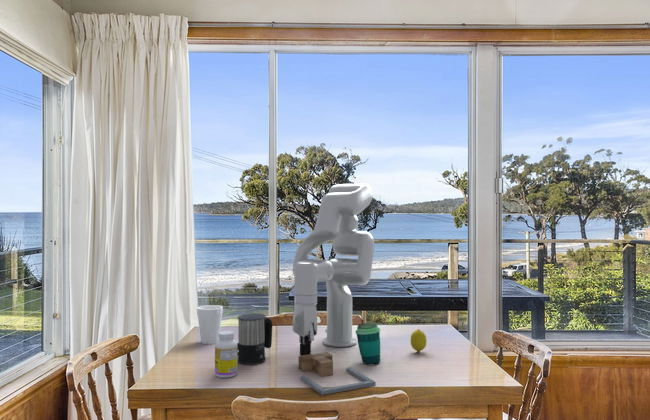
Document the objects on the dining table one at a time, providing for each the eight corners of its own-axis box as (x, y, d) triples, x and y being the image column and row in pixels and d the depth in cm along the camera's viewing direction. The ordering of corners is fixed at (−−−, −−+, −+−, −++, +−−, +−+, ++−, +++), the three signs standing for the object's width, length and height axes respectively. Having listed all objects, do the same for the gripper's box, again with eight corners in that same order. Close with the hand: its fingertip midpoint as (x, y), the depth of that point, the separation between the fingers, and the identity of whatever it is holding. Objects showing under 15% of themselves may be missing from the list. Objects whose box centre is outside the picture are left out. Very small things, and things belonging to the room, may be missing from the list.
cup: (373, 367, 158) (373, 329, 158) (350, 363, 162) (351, 326, 162) (384, 361, 165) (384, 324, 165) (362, 357, 169) (362, 321, 169)
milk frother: (258, 366, 159) (258, 319, 159) (214, 361, 164) (214, 316, 164) (275, 354, 173) (275, 311, 173) (234, 350, 177) (234, 308, 177)
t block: (298, 368, 157) (298, 356, 157) (326, 364, 161) (326, 352, 161) (312, 377, 148) (312, 364, 148) (341, 373, 152) (341, 359, 153)
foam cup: (224, 343, 186) (224, 308, 186) (198, 346, 182) (198, 310, 182) (220, 337, 195) (220, 304, 195) (196, 339, 191) (196, 305, 191)
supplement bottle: (216, 371, 154) (216, 329, 154) (238, 371, 154) (238, 329, 154) (213, 379, 147) (213, 335, 147) (236, 378, 147) (236, 334, 148)
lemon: (426, 354, 172) (426, 331, 172) (410, 353, 173) (410, 330, 173) (426, 350, 178) (426, 327, 178) (410, 349, 179) (410, 327, 179)
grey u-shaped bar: (300, 379, 147) (300, 375, 147) (350, 370, 155) (350, 367, 155) (321, 395, 134) (321, 391, 134) (375, 385, 142) (375, 381, 142)
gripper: (286, 296, 169) (285, 351, 169) (304, 304, 156) (304, 363, 155) (306, 295, 172) (306, 348, 172) (326, 302, 159) (325, 360, 159)
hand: (305, 355), depth 164 cm, fingers closed
